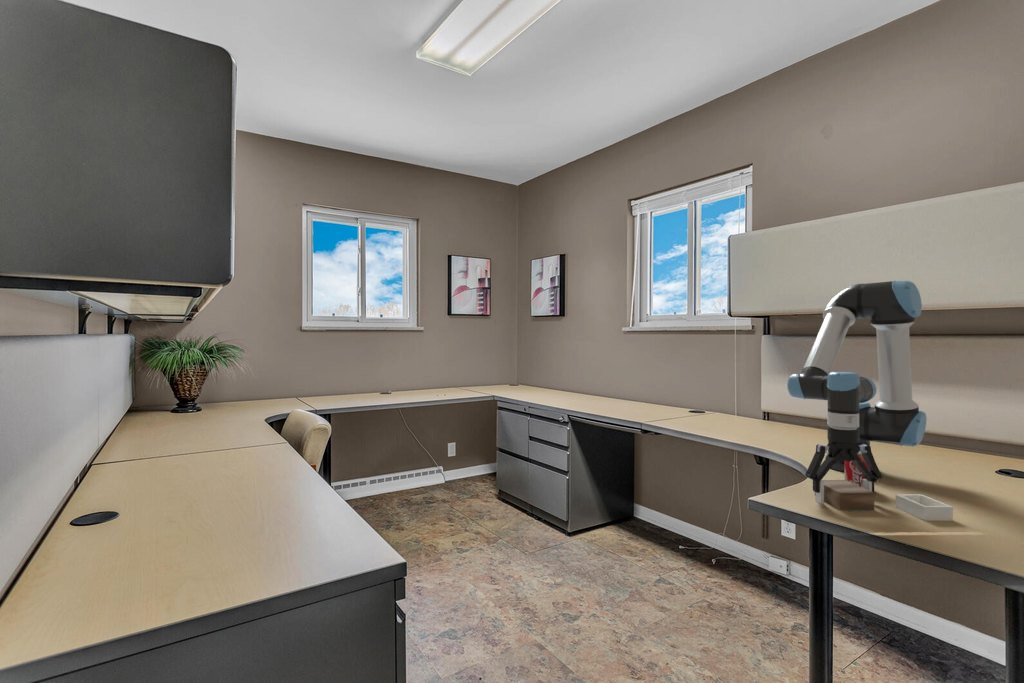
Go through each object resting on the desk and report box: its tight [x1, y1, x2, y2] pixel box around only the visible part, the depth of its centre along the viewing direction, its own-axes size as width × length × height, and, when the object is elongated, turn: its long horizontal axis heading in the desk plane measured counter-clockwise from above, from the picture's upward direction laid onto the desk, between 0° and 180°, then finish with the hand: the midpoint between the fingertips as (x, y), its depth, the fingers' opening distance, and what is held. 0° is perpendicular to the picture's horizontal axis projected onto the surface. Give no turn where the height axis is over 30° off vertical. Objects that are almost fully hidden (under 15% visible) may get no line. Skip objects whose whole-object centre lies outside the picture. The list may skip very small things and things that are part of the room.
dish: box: [895, 493, 954, 522], centre depth 133 cm, size 10×7×4 cm
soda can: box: [844, 451, 870, 487], centre depth 154 cm, size 7×7×12 cm
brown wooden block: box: [814, 479, 875, 511], centre depth 142 cm, size 12×9×4 cm
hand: (843, 503), depth 142 cm, fingers open, 12 cm apart
